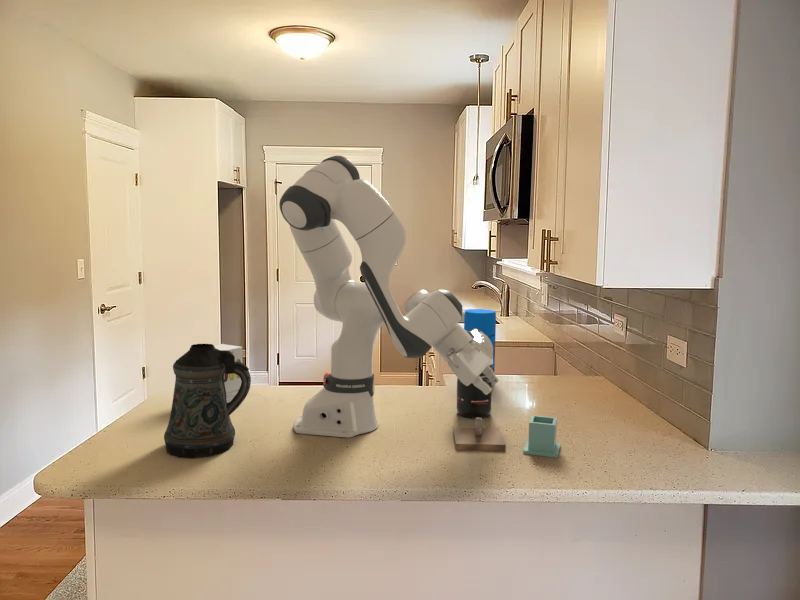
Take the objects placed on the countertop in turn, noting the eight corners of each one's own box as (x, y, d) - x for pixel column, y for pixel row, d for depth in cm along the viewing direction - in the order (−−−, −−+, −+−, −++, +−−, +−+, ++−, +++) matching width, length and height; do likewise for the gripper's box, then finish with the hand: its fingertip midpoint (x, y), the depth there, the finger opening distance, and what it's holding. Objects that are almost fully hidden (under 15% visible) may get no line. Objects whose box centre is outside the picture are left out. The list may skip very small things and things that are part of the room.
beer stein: (154, 444, 150) (150, 344, 147) (229, 428, 162) (227, 335, 159) (179, 464, 137) (175, 355, 134) (258, 445, 149) (256, 345, 146)
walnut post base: (455, 449, 148) (456, 425, 147) (452, 433, 160) (453, 410, 159) (505, 450, 148) (506, 426, 147) (498, 433, 160) (499, 411, 159)
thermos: (477, 376, 220) (479, 308, 217) (500, 383, 212) (502, 311, 209) (456, 381, 213) (457, 310, 210) (479, 388, 205) (481, 314, 202)
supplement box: (220, 407, 180) (219, 351, 178) (199, 402, 185) (197, 348, 183) (244, 399, 188) (243, 346, 186) (222, 395, 193) (221, 343, 191)
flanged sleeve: (523, 453, 146) (524, 423, 145) (527, 442, 153) (528, 413, 153) (557, 457, 143) (559, 427, 143) (560, 446, 151) (561, 417, 150)
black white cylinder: (498, 417, 174) (500, 330, 171) (466, 420, 170) (468, 332, 167) (480, 407, 183) (482, 324, 180) (449, 410, 179) (451, 326, 176)
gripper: (453, 345, 142) (494, 390, 140) (472, 331, 161) (508, 370, 159) (435, 362, 143) (474, 407, 142) (455, 346, 163) (491, 385, 161)
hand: (493, 387), depth 150 cm, fingers open, 8 cm apart
